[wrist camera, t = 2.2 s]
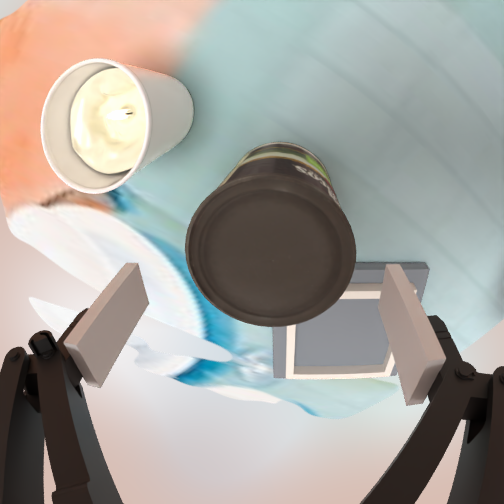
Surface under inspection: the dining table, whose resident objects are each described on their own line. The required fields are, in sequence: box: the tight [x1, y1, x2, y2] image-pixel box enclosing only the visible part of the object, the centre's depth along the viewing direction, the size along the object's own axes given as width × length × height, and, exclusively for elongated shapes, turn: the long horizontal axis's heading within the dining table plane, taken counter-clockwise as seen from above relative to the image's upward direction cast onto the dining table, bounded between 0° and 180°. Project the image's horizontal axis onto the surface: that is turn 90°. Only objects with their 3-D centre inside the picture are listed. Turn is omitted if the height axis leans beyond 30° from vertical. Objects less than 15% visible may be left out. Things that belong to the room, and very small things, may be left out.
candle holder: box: [41, 58, 194, 194], centre depth 23 cm, size 10×10×12 cm
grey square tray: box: [273, 263, 430, 379], centre depth 36 cm, size 18×18×3 cm
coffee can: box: [185, 142, 356, 327], centre depth 24 cm, size 10×10×14 cm
